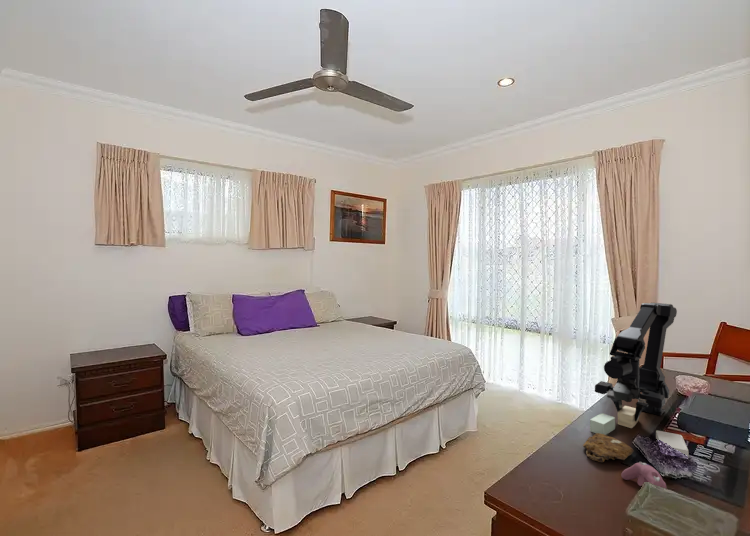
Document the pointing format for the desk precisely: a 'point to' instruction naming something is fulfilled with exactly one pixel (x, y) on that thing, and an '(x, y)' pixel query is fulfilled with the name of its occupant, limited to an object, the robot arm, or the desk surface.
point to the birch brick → (627, 417)
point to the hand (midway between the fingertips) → (628, 418)
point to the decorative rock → (606, 448)
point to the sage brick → (602, 424)
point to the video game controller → (643, 474)
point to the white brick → (673, 441)
